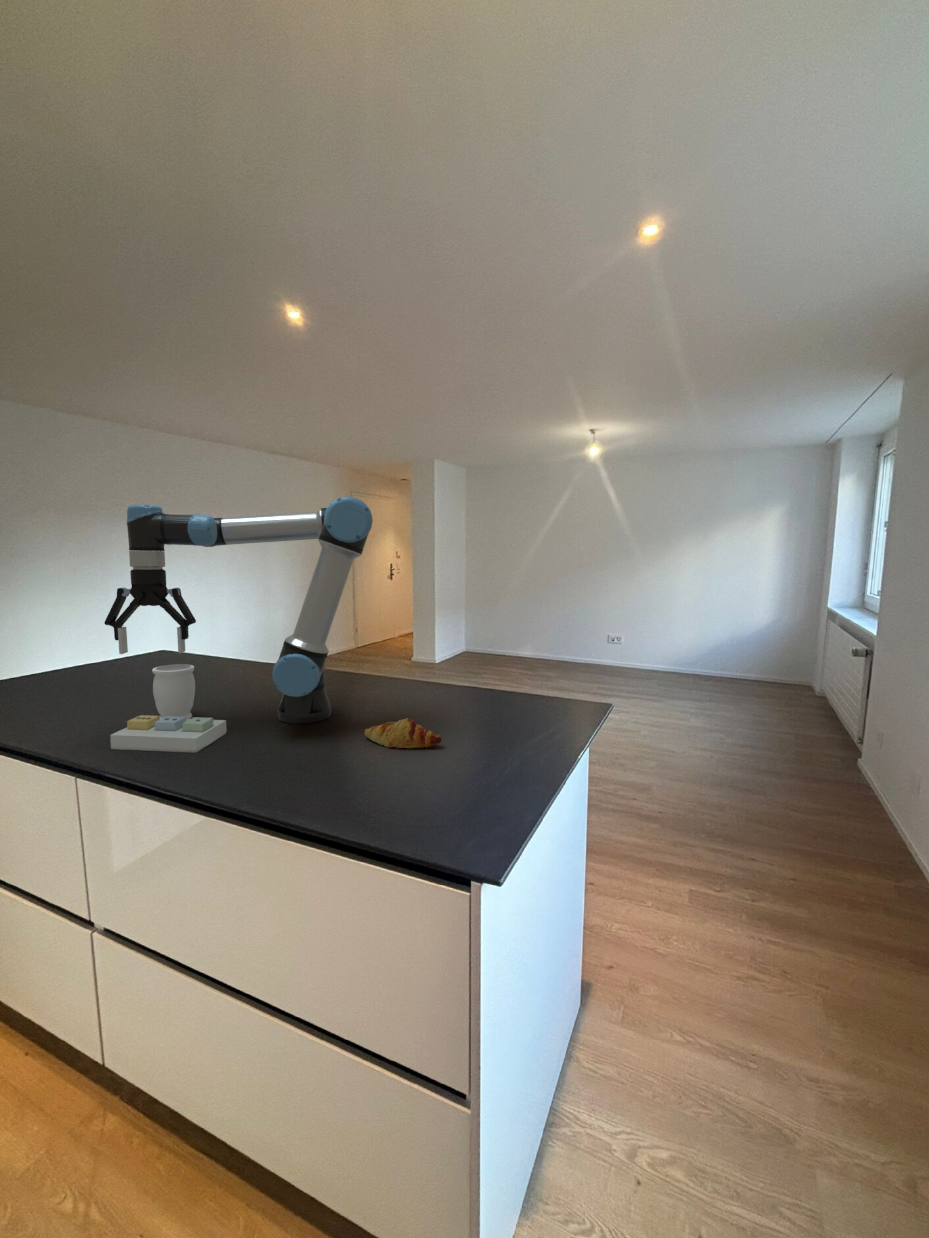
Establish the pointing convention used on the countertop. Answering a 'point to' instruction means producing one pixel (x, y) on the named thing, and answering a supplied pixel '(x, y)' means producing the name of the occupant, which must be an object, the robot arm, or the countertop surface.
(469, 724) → the countertop surface
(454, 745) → the countertop surface
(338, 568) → the robot arm
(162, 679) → the jar
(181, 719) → the tile two
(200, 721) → the tile one
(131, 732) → the button board
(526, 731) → the countertop surface
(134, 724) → the tile three
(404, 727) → the croissant
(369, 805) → the countertop surface
